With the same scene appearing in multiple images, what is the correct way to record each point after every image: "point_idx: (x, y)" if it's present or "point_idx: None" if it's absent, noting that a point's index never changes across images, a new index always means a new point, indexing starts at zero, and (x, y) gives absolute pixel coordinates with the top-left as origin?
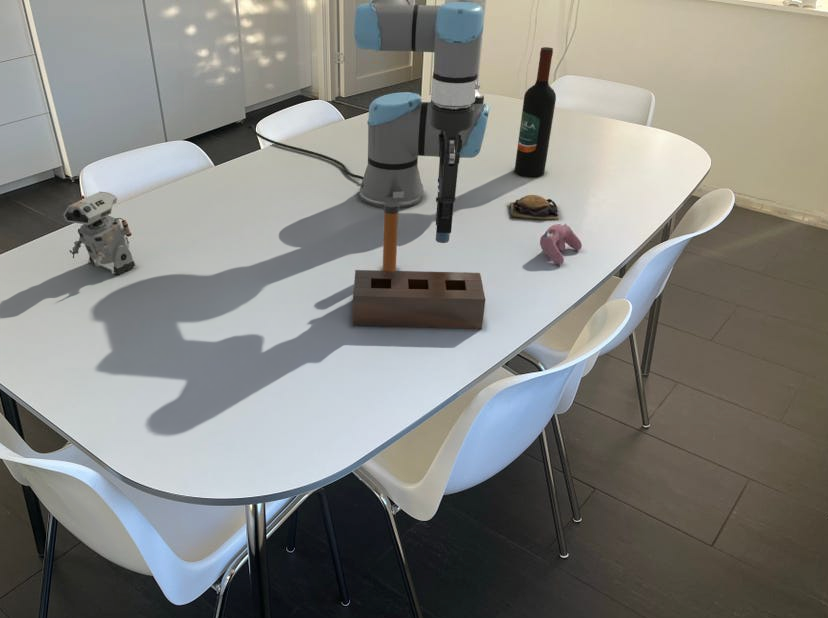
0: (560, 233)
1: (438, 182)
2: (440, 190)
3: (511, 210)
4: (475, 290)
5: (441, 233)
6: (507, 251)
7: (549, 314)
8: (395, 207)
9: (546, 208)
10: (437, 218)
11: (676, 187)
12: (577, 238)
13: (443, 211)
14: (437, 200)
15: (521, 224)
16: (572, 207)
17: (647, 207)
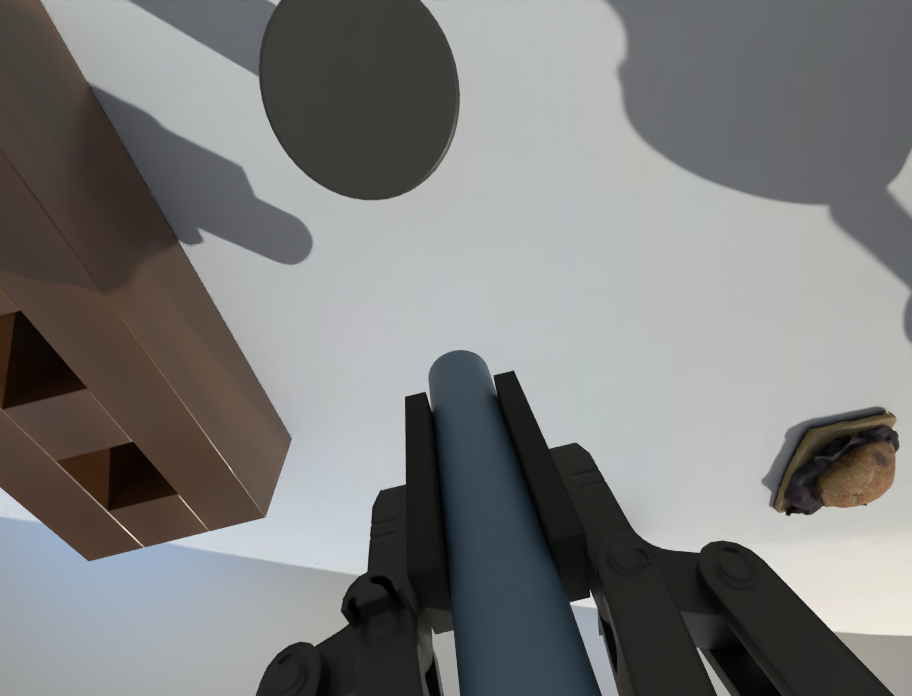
0: None
1: (710, 555)
2: (479, 638)
3: (842, 425)
4: (127, 531)
5: (431, 404)
6: (601, 450)
7: (309, 561)
8: (307, 172)
9: (815, 503)
10: (422, 445)
11: (870, 623)
12: None
13: (371, 543)
14: (350, 601)
15: (759, 451)
16: (831, 520)
17: None
